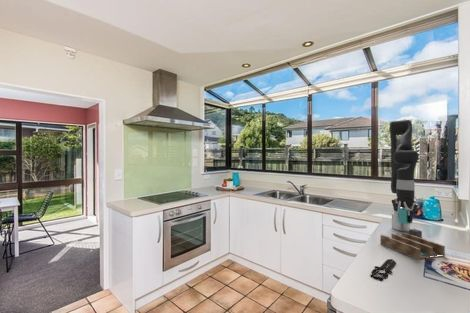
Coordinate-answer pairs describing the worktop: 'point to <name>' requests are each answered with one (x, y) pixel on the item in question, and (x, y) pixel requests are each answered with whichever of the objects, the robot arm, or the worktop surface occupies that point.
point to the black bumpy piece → (383, 269)
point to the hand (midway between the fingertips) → (405, 221)
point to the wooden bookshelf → (413, 245)
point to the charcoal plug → (415, 232)
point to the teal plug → (403, 216)
